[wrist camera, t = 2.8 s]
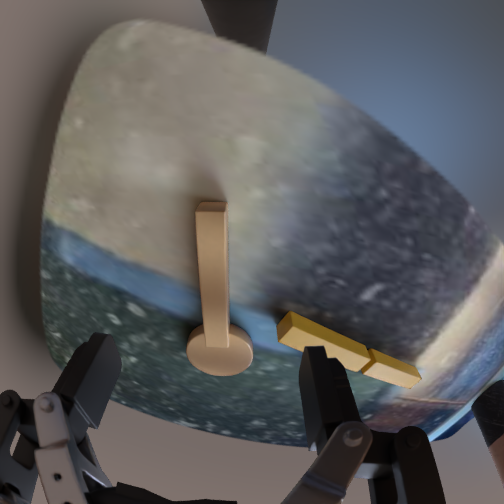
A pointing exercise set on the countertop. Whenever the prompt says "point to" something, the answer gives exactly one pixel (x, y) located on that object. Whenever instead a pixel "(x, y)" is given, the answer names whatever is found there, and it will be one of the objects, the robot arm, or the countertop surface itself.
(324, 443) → the robot arm
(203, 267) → the spoon
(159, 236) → the countertop surface
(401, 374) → the bar
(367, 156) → the countertop surface
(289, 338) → the bar
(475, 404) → the travel mug
